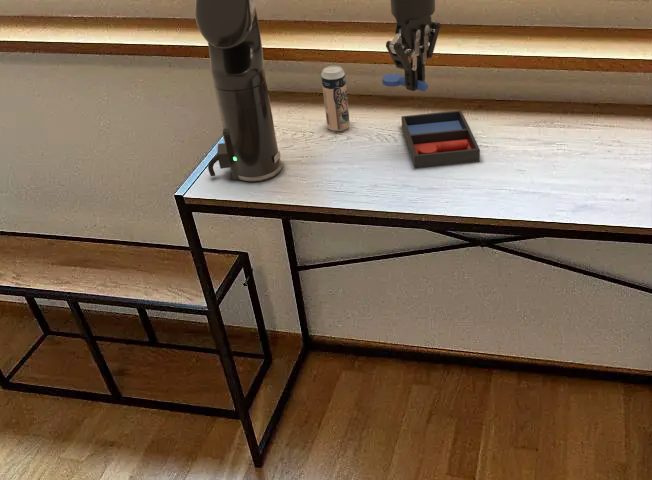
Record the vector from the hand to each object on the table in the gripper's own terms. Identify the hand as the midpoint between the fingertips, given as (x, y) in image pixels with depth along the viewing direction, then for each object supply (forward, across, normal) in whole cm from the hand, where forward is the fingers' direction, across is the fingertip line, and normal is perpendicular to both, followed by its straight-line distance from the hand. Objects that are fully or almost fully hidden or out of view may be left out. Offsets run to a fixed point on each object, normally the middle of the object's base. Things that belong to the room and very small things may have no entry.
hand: (415, 87), depth 129 cm
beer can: (+13, +1, +21) cm, 25 cm away
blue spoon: (0, 0, +2) cm, 2 cm away
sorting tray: (+13, +6, -1) cm, 14 cm away
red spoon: (+13, +3, -4) cm, 14 cm away
